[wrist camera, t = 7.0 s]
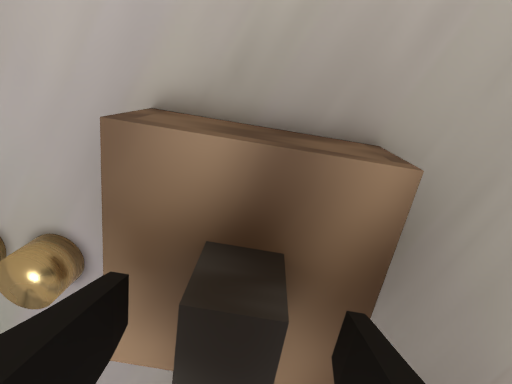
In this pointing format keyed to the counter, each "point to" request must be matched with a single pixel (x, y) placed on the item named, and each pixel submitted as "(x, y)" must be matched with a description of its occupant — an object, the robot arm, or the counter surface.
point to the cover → (244, 243)
